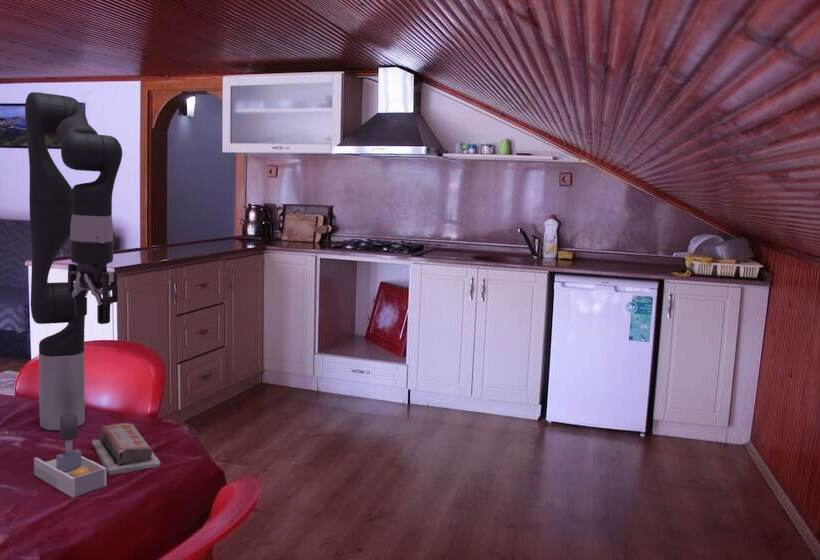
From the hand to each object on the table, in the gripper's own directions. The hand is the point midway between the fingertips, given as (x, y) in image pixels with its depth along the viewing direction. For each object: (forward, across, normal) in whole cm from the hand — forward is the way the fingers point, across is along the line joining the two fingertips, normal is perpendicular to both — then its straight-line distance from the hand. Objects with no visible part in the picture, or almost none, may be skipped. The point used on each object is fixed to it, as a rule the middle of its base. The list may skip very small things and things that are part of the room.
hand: (92, 319), depth 131 cm
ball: (+27, +10, -8) cm, 30 cm away
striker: (+27, +6, -8) cm, 29 cm away
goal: (+29, +10, -8) cm, 32 cm away
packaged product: (+30, +2, +6) cm, 31 cm away
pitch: (+29, +3, -8) cm, 31 cm away
